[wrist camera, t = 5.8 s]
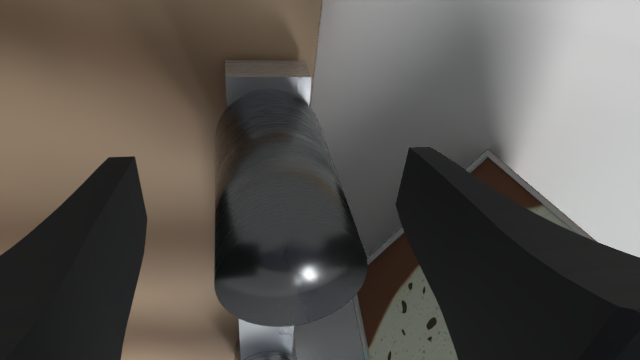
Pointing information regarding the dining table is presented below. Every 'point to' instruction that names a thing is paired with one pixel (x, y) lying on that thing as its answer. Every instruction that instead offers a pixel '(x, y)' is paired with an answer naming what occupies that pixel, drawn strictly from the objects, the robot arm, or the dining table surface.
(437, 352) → the food container
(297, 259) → the lever
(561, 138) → the dining table surface
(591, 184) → the dining table surface
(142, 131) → the walnut board
